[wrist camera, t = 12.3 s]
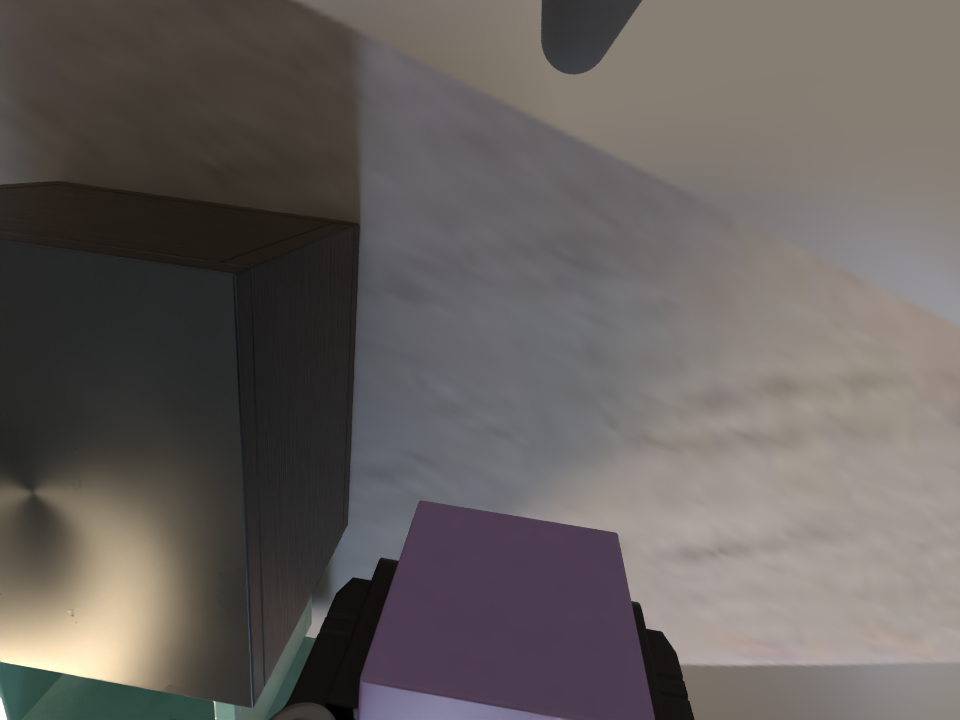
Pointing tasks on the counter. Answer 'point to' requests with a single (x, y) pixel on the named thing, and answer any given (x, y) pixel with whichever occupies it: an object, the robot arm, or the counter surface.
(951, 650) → the counter surface
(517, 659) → the purple cube
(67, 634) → the drawer cabinet
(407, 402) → the counter surface
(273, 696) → the drawer
